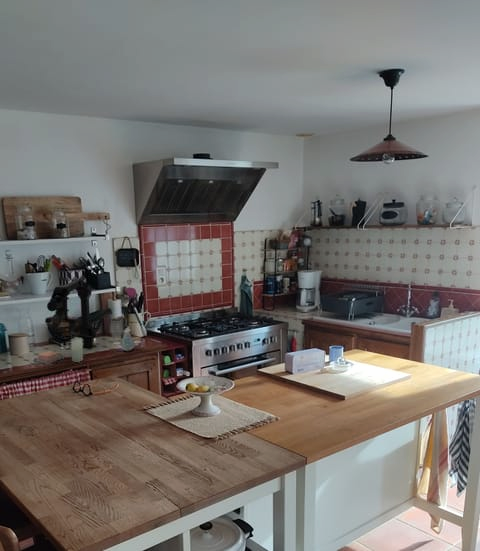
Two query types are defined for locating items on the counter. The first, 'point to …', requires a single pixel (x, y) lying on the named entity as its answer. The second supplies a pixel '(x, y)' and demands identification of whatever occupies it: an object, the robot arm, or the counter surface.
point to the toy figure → (127, 341)
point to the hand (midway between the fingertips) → (63, 335)
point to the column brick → (77, 349)
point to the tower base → (48, 357)
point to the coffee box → (119, 327)
